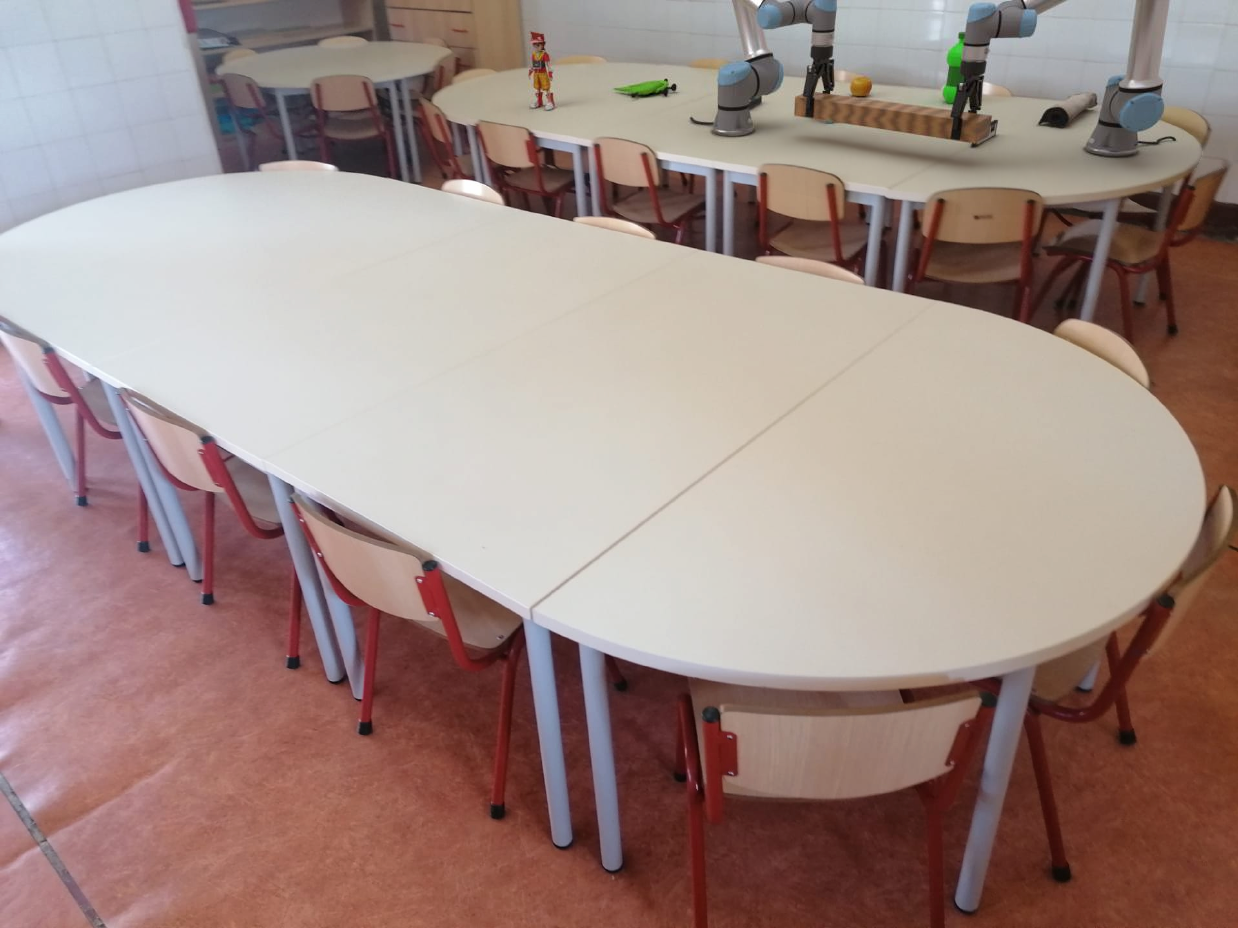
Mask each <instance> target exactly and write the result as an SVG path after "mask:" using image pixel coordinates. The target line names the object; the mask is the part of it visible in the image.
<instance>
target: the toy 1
mask: <svg viewBox="0 0 1238 928" xmlns="http://www.w3.org/2000/svg"><path fill="white" fill-rule="evenodd" d="M529 33H530V35H531V36H528V37H527V38H528V39H529V40H528V41H527V43H529V44H530V43H531V44H532V48H533V50H534V51H533V52H532V55H531V58H530V59H531V63H530V66H528V74H527V75H528V76H527V77H528V79H529V80H531V75H532V74H533V84H532V85H533V86H532V87H533V88H534V89H535V90H536V92H534V95H535V97H536V100H535V101H533V102H531V105H530V108H531V109H535V108H538V107H542V106H544V101H543V100H544V99H543V95H544V92H546V94H545V97H546V99H547V103H546V104H545V106H544V110H546V111H549V110H553V109H554V107H555V106H556V105H555V99H554V92H551V91H550V90H551V86H552V84H551V82H552V81H553V80H554V77H553V73H554V71H555V70H554V69H552V68H551V63H550V61H551V59H550V58H551V57H550V54H549V53H548V52H547V50H546V48H545V46H546V44H547V41H545V35H544V33H543V32H542V33H539V32H535V31H529Z"/></svg>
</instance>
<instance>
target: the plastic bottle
mask: <svg viewBox="0 0 1238 928" xmlns="http://www.w3.org/2000/svg"><path fill="white" fill-rule="evenodd" d="M964 37H965V31H959V32H958V36H957V39H958V42H957V43H956V44H954V45H953V46H952V47H951V48H950V49H949V50H948V52H947V54H946V63H947V64H948V69H947V70H948V71H947V76H946V77H947V78H946V84H945V85H944V87H943V90H942V97H943V99H944V100H945V101H946V102H947V103H948V104H953V103H954V99H955V95H956V90H957V84H958V83H962V80H963V77H964V76H963V75H962V74H960V73H959V70H960V64H961V61H962V60H963V59H962V58H961V56H962V50H963V44H964Z"/></svg>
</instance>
